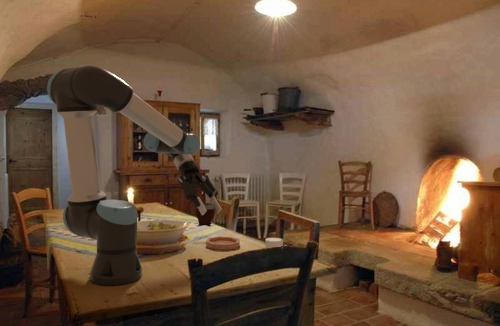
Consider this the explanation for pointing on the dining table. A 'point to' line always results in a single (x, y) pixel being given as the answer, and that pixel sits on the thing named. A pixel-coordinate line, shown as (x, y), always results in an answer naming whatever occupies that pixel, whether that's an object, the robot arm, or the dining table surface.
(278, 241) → the white cup
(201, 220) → the mate gourd
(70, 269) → the dining table surface
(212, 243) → the ring saucer
